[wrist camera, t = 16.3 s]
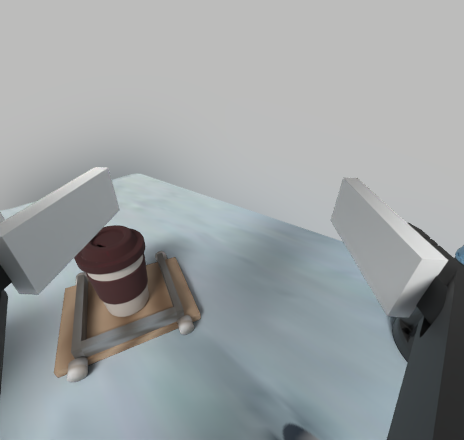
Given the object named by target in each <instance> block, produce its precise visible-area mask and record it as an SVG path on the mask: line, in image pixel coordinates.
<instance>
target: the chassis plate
mask: <svg viewBox="0 0 464 440" xmlns="http://www.w3.org/2000/svg"><path fill="white" fill-rule="evenodd" d="M155 258H156V261H157V262H156V263H152V264H149V265H146V270H147V277H148V283H147V285H148V292H149V297H148V301H147V303H146V304H145V306H144V307H143V308H142V309H141V310H140V311H138V312H137V313H135V314H133V315H130V316H126V317H117V316H114V315H112V314H111V313H110V312H109V311H108V309H107V308H106V306H105V304H104V302H103V301H102V300H101V299H100V298H99V296H98V295H97V293H96V291H95V289H94V288H93V286H92V284H91V282H90V281H89V279H88V277H87V275H86V273H85V272H83V273H79V274H78V275H77V276H76V286H72V287H69V288H65V294H64V301H63V309H62V316H61V324H60V331H59V338H58V346H57V353H56V361H55V368H54V374H55V375H56V376H57V377H58V378H59V377H61V376H64V375H66V374H67V381H69V382H77V381H80V380H82V379H84V378H85V377H86V376H87V374H88V365H90V364H93V363H95V362H97V361H100V360H102V359H105V358H107V357H110V356H112V355H114V354H117V353H119V352H122V351H124V350H126V349H129V348H131V347H134V346H136V345H139V344H141V343H143V342H146V341H148V340H151V339H153V338H155V337H158V336H160V335H163V334H165V333H168V332H170V331H172V330H175V329H177V328H179V330H180V333H181V334H182V335H187V334H189V333H191V332H192V331H193V330H194V325H193V322H194V321H197V320H199V319H201V317H200V312H199V310H198V307H197V305H196V303H195V301H194V298H193V296H192V294H191V292H190V289H189V287H188V285H187V283H186V280H185V278H184V276H183V273H182V271H181V269H180V267H179V264H178V262H177V260H176V258H175V257H173V258H170V259H167V256H166V254H165V252H163V251H160V252H158V253H156V255H155Z"/></svg>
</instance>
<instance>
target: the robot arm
mask: <svg viewBox="0 0 464 440" xmlns="http://www.w3.org/2000/svg"><path fill="white" fill-rule="evenodd" d="M118 211H119V206H118V202H117V198H116V195H115V191H114V187H113V184H112V180H111V176H110V172H109V169H108V168H102V167H95V168H93V169H91V170H89V171H88V172H86V173H84V174H83V175H81V176H79V177H77V178H76V179H74V180H72V181H71V182H69V183H67V184H66V185H64V186H62V187H61V188H59V189H57V190H55V191H54V192H52V193H50V194H49V195H47V196H45V197H43V198H42V199H40V200H39V201H37V202H35V203H33V204H32V205H30V206H28V207H26V208H25V209H23V210H21V211H20V212H18V213H16V214H15V215H13V216H11V217H9V218H8V219H6V220H4V221H3V222H1V223H0V393H1V380H2V367H3V354H4V341H5V328H6V316H7V303H8V296H7V293H6V292H5V291H4V288H6V287H7V286H8V285H9V284H10V283H12V284H13V285H14V287H15V288H16V290H17V291H18V293H19V294H34V295H39V294H40V293H41V292H42V290H43V289H44V288H45V287H46V286H47V285H48V284H49V283H50V282H51V281H52V280H53V279H54V278H55V277H56V276H57V275H58V274H59V273H60V272H61V271H62V270H63V269H64V268H65V267H66V266H67V264H68V263H69V262H70V261H71V260H72V259H73V258H74V257H75V256H76V255H77V254H78V253H79V252H80V251H81V250H82V249H83V248H84V247H85V246H86V245H87V244H88V243H89V242H90V241H91V239H92V238H93V237H94V236H95V235H96V234H97V233H98V232H99V231H100V230H101V229H102V228H103V227H104V226H105V225H106V224H107V223H108V222H109V221H110V220H111V219H112V218H113V217H114V216H115V215H116V213H117V212H118ZM331 222H332V223H333V225H334V227H335V229H336V230H337V232H338V234H339V235H340V237H341V239H342V240H343V242H344V244H345V245H346V247H347V249H348V251H349V252H350V254H351V256H352V257H353V259H354V261H355V262H356V264H357V266H358V268H359V269H360V271H361V273H362V274H363V276H364V278H365V279H366V281H367V283H368V284H369V286H370V288H371V290H372V291H373V293H374V295H375V296H376V298H377V300H378V301H379V303H380V305H381V307H382V308H383V310H384V312H385V313H386V315H387V316H390V317H397V318H396V320H395V321H394V324H393V336H394V340H395V342H396V345H397V347H398V348H399V350H400V352H401V353H402V355H403V356H404V358H405V359H406V360H407V362H408V364H407V367H406V371H405V375H404V378H403V382H402V386H401V389H400V393H399V397H398V400H397V404H396V408H395V412H394V415H393V419H392V423H391V426H390V430H389V434H388V437H387V440H464V245H463V247H461V248H459V249H458V250H457V252H456V254H455V255H456V256H455V258H453V257H452V256H451V255H449V254H448V253H447V252H446V251H445V250H444V249H443V248H442V247H440V246H438V245H437V243H436V242H435V241H434V240H432V239H430V237H429V236H428V235H427V234H425V233H424V232H423V231H422V230H421V229H419V228H417V227H415V226H413V225H412V224H410V223H407V222H405V221H404V220H403V219H402V218H401V217H400V216H399V215H398V214H397V213H395V212H394V211H393V210H392V209H391V208H390V207H389V206H388V205H386V203H384V202H383V201H382V200H381V199H380V198H379V197H378V196H377V195H376V194H374V193H373V192H372V191H371V190H370V189H369V188H368V187H366V185H365V184H363V183H362V182H361V181H360V180H359V179H358V178H343V180H342V184H341V187H340V191H339V194H338V197H337V201H336V204H335V208H334V211H333V214H332V218H331Z"/></svg>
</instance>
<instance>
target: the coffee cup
mask: <svg viewBox="0 0 464 440" xmlns="http://www.w3.org/2000/svg"><path fill="white" fill-rule="evenodd" d="M144 250H145V242H144V238H143V236H142V234H141V233H140V232H138V231H136V230H134V229H129V228H127V227H124V226H116V225H115V226H107V227H103V228H102V229H101V230H100V231H99V232H98V233H97V234H96V235H95V236H94V237H93V238H92V239H91V241H90V242H89V243H88V244H87V245H86V246H85V247H84V248H83V249H82V250H81V251H80V252H79V253H78V254H77V255H76V256H75V257H74V258H75V261H76V263H77V265H78V267H79V268H80V269H81V270H82V271H84V272H86V275H87V277H88V279H89V281H90V282H91V284H92V286H93V288H94V289H95V291H96V293H97V295H98V296H99V298H100V299H101V300H102V301H103V302H104V304H105V306H106V308H107V309H108V311H109V312H110V313H111V314H112V315H114V316H117V317H126V316H130V315H133V314H135V313H137V312H138V311H140V310H141V309H142V308H143V307H144V306H145V304H146V303H147V301H148V297H149V292H148V285H147V283H148V277H147V270H146V263H145V256H144Z"/></svg>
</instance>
